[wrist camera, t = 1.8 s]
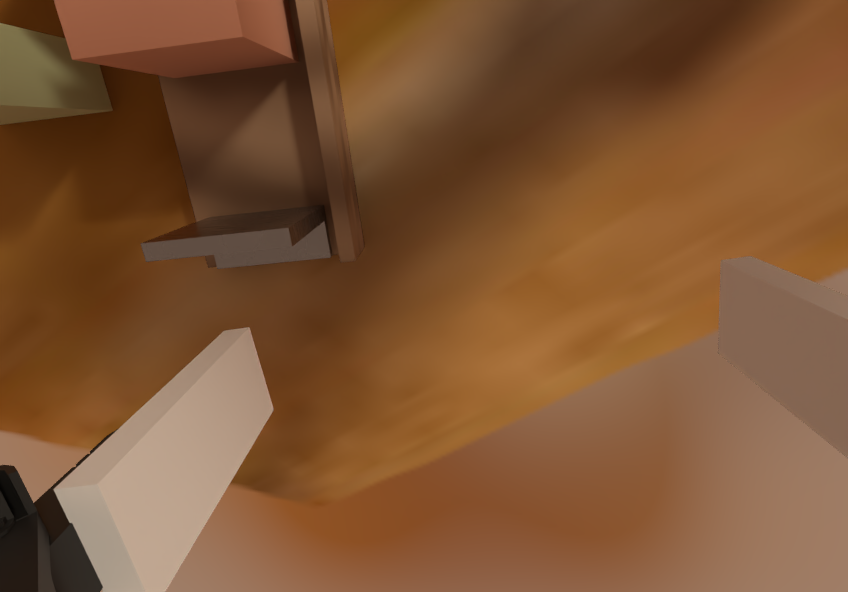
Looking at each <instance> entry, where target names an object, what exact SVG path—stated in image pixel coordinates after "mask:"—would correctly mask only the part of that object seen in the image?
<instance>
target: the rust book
mask: <svg viewBox="0 0 848 592" xmlns="http://www.w3.org/2000/svg"><path fill="white" fill-rule="evenodd" d="M54 3H55V6H56V9H57V12H58V16H59V19H60V22H61V25H62V28H63V32H64V35H65V38H66V41H67V45H68V48H69V51H70V54H71V58H72V60H77V61H82V62H88V63H93V64H99V65H104V66H110V67H115V68H121V69H126V70H132V71H137V72H143V73H148V74H154V75H159V76H165V77H170V78H180V77H188V76H196V75H204V74H211V73H219V72H227V71H234V70H242V69H250V68H257V67H265V66H273V65H281V64H288V63H296V62H299V59H298V53H297V47H296V42H295V36H294V30H293V25H292V19H291V13H290V7H289V2H288V0H54Z"/></svg>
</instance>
